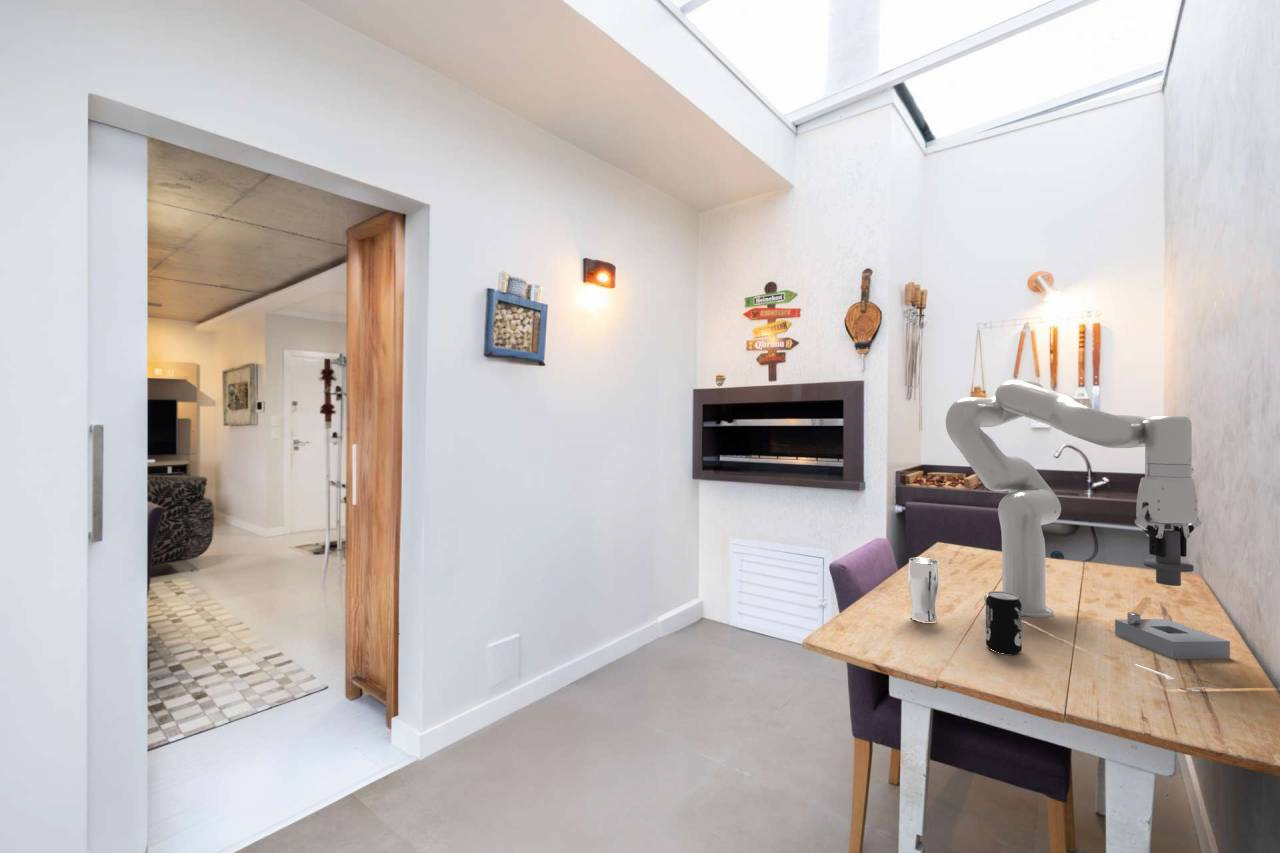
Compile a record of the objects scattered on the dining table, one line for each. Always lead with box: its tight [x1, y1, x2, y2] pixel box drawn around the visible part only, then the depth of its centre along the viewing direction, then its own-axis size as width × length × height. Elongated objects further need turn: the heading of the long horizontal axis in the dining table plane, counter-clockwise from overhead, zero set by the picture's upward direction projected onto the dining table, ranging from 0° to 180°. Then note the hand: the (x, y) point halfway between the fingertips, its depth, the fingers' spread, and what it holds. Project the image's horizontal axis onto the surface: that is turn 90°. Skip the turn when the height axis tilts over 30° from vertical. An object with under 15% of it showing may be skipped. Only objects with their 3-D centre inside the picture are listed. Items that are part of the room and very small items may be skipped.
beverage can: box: [985, 590, 1023, 656], centre depth 124 cm, size 7×7×12 cm
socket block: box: [1114, 618, 1231, 660], centre depth 125 cm, size 12×14×4 cm
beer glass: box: [907, 557, 940, 622], centre depth 144 cm, size 7×7×15 cm
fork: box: [1134, 663, 1211, 691], centre depth 113 cm, size 3×20×2 cm, turn 7°
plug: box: [1143, 529, 1194, 587], centre depth 125 cm, size 8×8×12 cm
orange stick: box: [1126, 596, 1152, 625], centre depth 134 cm, size 20×2×2 cm, turn 131°
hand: (1167, 554), depth 125 cm, fingers closed on plug, 4 cm apart
